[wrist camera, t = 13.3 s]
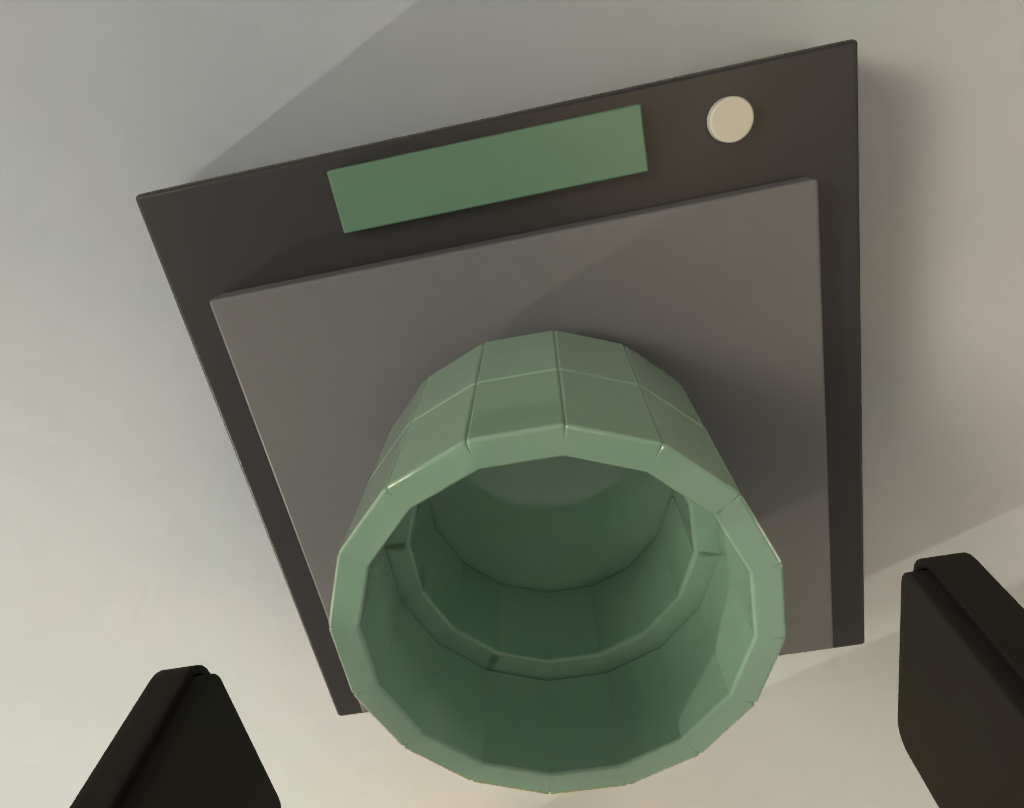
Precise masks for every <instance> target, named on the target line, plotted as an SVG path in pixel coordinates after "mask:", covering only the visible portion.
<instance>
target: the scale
mask: <svg viewBox="0 0 1024 808" xmlns="http://www.w3.org/2000/svg"><path fill="white" fill-rule="evenodd" d="M136 201H137V203H138V206H139V208H140V211H141V213H142V216H143V219H144V221H145V224H146V226H147V229H148V231H149V234H150V236H151V239H152V241H153V244H154V247H155V249H156V252H157V254H158V257H159V259H160V262H161V264H162V267H163V269H164V272H165V275H166V277H167V280H168V282H169V285H170V287H171V290H172V292H173V295H174V298H175V300H176V303H177V305H178V308H179V310H180V313H181V315H182V318H183V320H184V323H185V326H186V328H187V331H188V333H189V336H190V338H191V341H192V343H193V346H194V348H195V351H196V354H197V356H198V359H199V361H200V364H201V366H202V369H203V371H204V374H205V376H206V379H207V382H208V384H209V387H210V389H211V392H212V394H213V397H214V399H215V402H216V405H217V407H218V410H219V412H220V415H221V417H222V420H223V422H224V425H225V427H226V430H227V433H228V435H229V438H230V440H231V443H232V445H233V448H234V450H235V453H236V455H237V458H238V461H239V463H240V466H241V468H242V471H243V473H244V476H245V478H246V481H247V483H248V486H249V489H250V491H251V494H252V496H253V499H254V501H255V504H256V506H257V509H258V511H259V514H260V517H261V519H262V522H263V524H264V527H265V529H266V532H267V534H268V537H269V540H270V542H271V545H272V547H273V550H274V552H275V555H276V557H277V560H278V562H279V565H280V568H281V570H282V573H283V575H284V578H285V580H286V583H287V585H288V588H289V590H290V593H291V596H292V598H293V601H294V603H295V606H296V608H297V611H298V613H299V616H300V618H301V621H302V624H303V626H304V629H305V631H306V634H307V636H308V639H309V641H310V644H311V647H312V649H313V652H314V654H315V657H316V659H317V662H318V664H319V667H320V669H321V672H322V675H323V677H324V680H325V682H326V685H327V687H328V690H329V692H330V695H331V697H332V700H333V703H334V705H335V708H336V710H337V713H338V715H340V716H342V715H350V714H357V713H364V712H369V711H368V710H367V709H366V708H365V707H364V706H363V705H362V704H361V703H360V702H359V700H358V699H357V698H356V697H355V696H354V693H353V692H352V691H351V688H350V686H349V683H348V680H347V677H346V674H345V672H344V669H343V666H342V663H341V661H340V658H339V655H338V652H337V650H336V647H335V644H334V641H333V638H332V636H331V633H330V630H329V627H330V626H329V615H330V608H331V600H332V593H333V585H334V578H335V570H336V563H337V556H338V554H339V551H340V548H341V546H342V544H343V541H344V539H345V537H346V534H347V532H348V529H349V527H350V525H351V522H352V520H353V518H354V515H355V513H356V511H357V508H358V506H359V503H360V501H361V499H362V496H363V494H364V492H365V489H366V487H367V485H368V482H369V481H370V478H371V475H372V473H373V470H374V468H375V466H376V463H377V461H378V459H379V456H380V454H381V452H382V449H383V447H384V444H385V442H386V440H387V437H388V435H389V433H390V430H391V428H392V427H393V425H394V424H395V422H396V421H397V420H398V418H399V417H400V415H401V414H402V412H403V411H404V409H405V408H406V406H407V405H408V403H409V402H410V400H411V399H412V397H413V396H414V395H415V393H416V392H417V390H418V389H419V387H420V386H421V384H422V383H423V381H425V380H427V378H428V377H429V376H431V375H433V374H434V373H436V372H437V371H439V370H441V369H442V368H444V367H445V366H447V365H449V364H450V363H452V362H453V361H455V360H457V359H458V358H460V357H461V356H463V355H465V354H466V353H468V352H469V351H471V350H473V349H474V348H476V347H477V346H479V345H482V344H483V345H484V343H485V342H489V341H495V340H501V339H506V338H512V337H518V336H523V335H529V334H535V333H541V332H546V331H562V332H566V333H571V334H576V335H581V336H586V337H591V338H595V339H600V340H605V341H610V342H615V343H619V344H623V345H624V346H626V347H629V348H630V349H631V350H633V351H634V352H636V353H637V354H639V355H640V356H642V357H643V358H645V359H646V360H648V361H649V362H650V363H652V364H653V365H655V366H656V367H658V368H659V369H661V370H662V371H664V372H665V373H667V374H668V375H669V376H671V377H672V378H674V379H675V380H677V381H678V382H679V384H680V385H681V386H682V387H683V388H684V390H685V391H686V393H687V395H688V396H689V398H690V399H691V401H692V403H693V404H694V406H695V408H696V409H697V411H698V413H699V414H700V416H701V418H702V419H703V421H704V423H705V424H706V426H707V428H708V429H709V431H710V433H711V434H712V436H713V438H714V440H715V442H716V443H717V445H718V447H719V449H720V451H721V452H722V454H723V456H724V458H725V459H726V461H727V463H728V465H729V467H730V468H731V470H732V472H733V474H734V476H735V477H736V479H737V481H738V483H739V485H740V486H741V488H742V490H743V492H744V493H745V495H746V497H747V499H748V501H749V502H750V504H751V506H752V508H753V510H754V511H755V513H756V515H757V517H758V519H759V520H760V522H761V524H762V526H763V528H764V529H765V531H766V533H767V535H768V537H769V538H770V540H771V542H772V544H773V545H774V547H775V549H776V551H777V553H778V554H779V556H780V558H781V563H782V565H783V577H784V597H785V617H786V636H785V641H784V644H783V646H782V648H781V650H780V652H779V655H786V654H793V653H800V652H808V651H815V650H822V649H829V648H837V647H844V646H851V645H858V644H863V643H864V575H863V491H862V407H861V323H860V238H859V154H858V70H857V42H856V40H852V39H851V40H846V41H841V42H837V43H832V44H827V45H822V46H817V47H812V48H808V49H803V50H798V51H794V52H789V53H785V54H780V55H775V56H771V57H766V58H762V59H757V60H752V61H748V62H743V63H739V64H734V65H729V66H725V67H720V68H716V69H711V70H706V71H702V72H697V73H693V74H688V75H683V76H679V77H674V78H670V79H665V80H660V81H656V82H651V83H647V84H642V85H637V86H633V87H628V88H624V89H619V90H614V91H610V92H605V93H601V94H596V95H591V96H587V97H582V98H578V99H573V100H569V101H564V102H559V103H555V104H550V105H546V106H541V107H536V108H532V109H527V110H523V111H518V112H513V113H509V114H504V115H500V116H495V117H490V118H486V119H481V120H477V121H472V122H467V123H463V124H458V125H454V126H449V127H444V128H440V129H435V130H431V131H426V132H421V133H417V134H412V135H408V136H403V137H398V138H394V139H389V140H385V141H380V142H375V143H371V144H366V145H362V146H357V147H352V148H348V149H343V150H339V151H334V152H329V153H325V154H320V155H316V156H311V157H306V158H302V159H297V160H293V161H288V162H283V163H279V164H274V165H270V166H265V167H261V168H256V169H251V170H247V171H242V172H238V173H233V174H228V175H224V176H219V177H215V178H210V179H205V180H201V181H196V182H192V183H187V184H182V185H178V186H174V187H169V188H165V189H160V190H156V191H152V192H147V193H143V194H139V195H138V196H137V197H136Z"/></svg>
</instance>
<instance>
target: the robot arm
mask: <svg viewBox="0 0 1024 808" xmlns="http://www.w3.org/2000/svg"><path fill="white" fill-rule="evenodd" d="M898 727H899V732H900V735H901V739H902V741H903V744H904V746H905V749H906V751H907V753H908V754H909V756H910V758H911V760H912V761H913V763H914V765H915V767H916V768H917V770H918V772H919V774H920V775H921V777H922V779H923V781H924V782H925V784H926V786H927V788H928V789H929V791H930V793H931V795H932V796H933V798H934V800H935V801H936V803H937V805H938V807H939V808H1024V609H1023V608H1022V607H1021V606H1020V605H1019V604H1018V603H1017V601H1016V600H1015V599H1014V598H1013V597H1012V596H1011V595H1010V594H1009V593H1008V592H1007V591H1006V590H1005V589H1004V588H1003V587H1002V586H1001V585H1000V584H999V583H998V582H997V581H996V580H995V578H994V577H993V576H992V575H991V574H990V573H989V572H988V571H987V570H986V569H985V568H984V567H983V566H982V565H981V564H980V563H979V562H978V561H977V560H976V559H975V558H974V557H973V556H972V555H970V554H968V553H965V552H963V553H956V554H949V555H942V556H936V557H929V558H922V559H919V560H917V561H916V563H915V564H914V570H913V572H908V573H904V575H903V576H902V582H901V618H900V656H899V694H898ZM70 808H281V804H280V800H279V797H278V795H277V793H276V791H275V789H274V787H273V785H272V783H271V781H270V779H269V777H268V775H267V773H266V771H265V769H264V767H263V765H262V763H261V761H260V758H259V756H258V754H257V752H256V750H255V748H254V746H253V744H252V742H251V740H250V738H249V736H248V734H247V732H246V730H245V728H244V726H243V724H242V721H241V719H240V717H239V715H238V713H237V711H236V709H235V707H234V705H233V703H232V701H231V699H230V697H229V695H228V693H227V691H226V689H225V687H224V685H223V682H222V680H221V679H220V677H219V676H218V675H216V674H210V672H209V671H208V669H207V668H205V667H204V666H202V665H195V666H188V667H181V668H175V669H168V670H161V671H160V672H158V673H156V674H155V675H154V676H153V678H152V679H151V680H150V682H149V683H148V685H147V686H146V688H145V690H144V691H143V693H142V694H141V696H140V697H139V699H138V701H137V702H136V704H135V705H134V707H133V709H132V710H131V712H130V713H129V715H128V716H127V718H126V720H125V721H124V723H123V724H122V726H121V727H120V729H119V731H118V732H117V734H116V735H115V737H114V739H113V740H112V742H111V743H110V745H109V746H108V748H107V750H106V751H105V753H104V754H103V756H102V757H101V759H100V761H99V762H98V764H97V765H96V767H95V769H94V770H93V772H92V773H91V775H90V776H89V778H88V780H87V781H86V783H85V784H84V786H83V788H82V789H81V791H80V792H79V794H78V795H77V797H76V799H75V800H74V802H73V803H72V805H71V806H70Z"/></svg>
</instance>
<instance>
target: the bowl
mask: <svg viewBox="0 0 1024 808" xmlns="http://www.w3.org/2000/svg"><path fill="white" fill-rule="evenodd" d="M329 626H330V627H329V630H330V633H331V636H332V638H333V641H334V644H335V647H336V650H337V652H338V655H339V658H340V661H341V663H342V666H343V669H344V672H345V674H346V677H347V680H348V683H349V686H350V688H351V691H352V692H353V693H354V696H355V697H356V698H357V699H358V700H359V702H360V703H361V704H362V705H363V706H364V707H365V708H366V709H367V710H368V711H369V712H370V713H371V714H372V715H373V716H374V717H375V718H376V719H377V720H378V721H379V722H380V723H381V724H382V726H383V727H384V728H385V729H386V730H387V731H388V732H389V733H390V734H391V735H392V736H393V737H394V738H395V739H396V740H397V741H398V742H399V743H400V744H401V745H402V746H404V747H405V748H406V749H408V750H410V751H412V752H414V753H416V754H418V755H420V756H422V757H424V758H426V759H428V760H430V761H432V762H434V763H436V764H438V765H440V766H442V767H444V768H446V769H448V770H450V771H452V772H454V773H456V774H458V775H460V776H462V777H464V778H466V779H468V780H473V781H474V782H478V783H484V784H490V785H496V786H502V787H508V788H514V789H520V790H526V791H532V792H538V793H544V794H548V793H549V792H550V793H552V794H555V793H564V792H572V791H581V790H590V789H599V788H607V787H616V786H625V785H627V783H628V784H633V783H635V782H637V781H640V780H642V779H644V778H647V777H649V776H651V775H654V774H656V773H658V772H661V771H663V770H665V769H668V768H670V767H672V766H675V765H677V764H679V763H682V762H684V761H686V760H689V759H691V758H693V757H696V756H698V755H699V753H702V752H703V751H704V750H706V749H707V748H708V747H709V746H710V745H711V744H712V743H713V742H714V741H715V740H717V739H718V738H719V737H720V736H721V735H722V734H723V733H724V732H725V731H726V730H728V729H729V728H730V727H731V726H732V725H733V724H734V723H735V722H736V721H737V720H739V719H740V718H741V717H742V716H743V715H744V714H745V713H746V712H747V711H749V710H750V709H751V708H752V707H753V706H754V703H755V702H757V700H758V698H759V696H760V694H761V692H762V689H763V687H764V685H765V683H766V681H767V679H768V676H769V674H770V672H771V670H772V668H773V665H774V663H775V661H776V659H777V657H778V655H779V652H780V650H781V648H782V646H783V644H784V641H785V636H786V617H785V597H784V577H783V565H782V563H781V558H780V556H779V554H778V553H777V551H776V549H775V547H774V545H773V544H772V542H771V540H770V538H769V537H768V535H767V533H766V531H765V529H764V528H763V526H762V524H761V522H760V520H759V519H758V517H757V515H756V513H755V511H754V510H753V508H752V506H751V504H750V502H749V501H748V499H747V497H746V495H745V493H744V492H743V490H742V488H741V486H740V485H739V483H738V481H737V479H736V477H735V476H734V474H733V472H732V470H731V468H730V467H729V465H728V463H727V461H726V459H725V458H724V456H723V454H722V452H721V451H720V449H719V447H718V445H717V443H716V442H715V440H714V438H713V436H712V434H711V433H710V431H709V429H708V428H707V426H706V424H705V423H704V421H703V419H702V418H701V416H700V414H699V413H698V411H697V409H696V408H695V406H694V404H693V403H692V401H691V399H690V398H689V396H688V395H687V393H686V391H685V390H684V388H683V387H682V386H681V385H680V384H679V382H678V381H677V380H675V379H674V378H672V377H671V376H669V375H668V374H667V373H665V372H664V371H662V370H661V369H659V368H658V367H656V366H655V365H653V364H652V363H650V362H649V361H648V360H646V359H645V358H643V357H642V356H640V355H639V354H637V353H636V352H634V351H633V350H631V349H630V348H629V347H626V346H624V345H623V344H619V343H615V342H610V341H605V340H600V339H595V338H591V337H586V336H581V335H576V334H571V333H566V332H562V331H546V332H541V333H535V334H529V335H523V336H518V337H512V338H506V339H501V340H495V341H489V342H485V343H484V345H483V344H482V345H479V346H477V347H476V348H474V349H473V350H471V351H469V352H468V353H466V354H465V355H463V356H461V357H460V358H458V359H457V360H455V361H453V362H452V363H450V364H449V365H447V366H445V367H444V368H442V369H441V370H439V371H437V372H436V373H434V374H433V375H431V376H429V377H428V378H427V380H425V381H423V383H422V384H421V386H420V387H419V389H418V390H417V392H416V393H415V395H414V396H413V397H412V399H411V400H410V402H409V403H408V405H407V406H406V408H405V409H404V411H403V412H402V414H401V415H400V417H399V418H398V420H397V421H396V422H395V424H394V425H393V427H392V428H391V430H390V433H389V435H388V437H387V440H386V442H385V444H384V447H383V449H382V452H381V454H380V456H379V459H378V461H377V463H376V466H375V468H374V470H373V473H372V475H371V478H370V481H369V482H368V485H367V487H366V489H365V492H364V494H363V496H362V499H361V501H360V503H359V506H358V508H357V511H356V513H355V515H354V518H353V520H352V522H351V525H350V527H349V529H348V532H347V534H346V537H345V539H344V541H343V544H342V546H341V548H340V551H339V554H338V556H337V563H336V570H335V578H334V585H333V593H332V600H331V608H330V615H329Z"/></svg>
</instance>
